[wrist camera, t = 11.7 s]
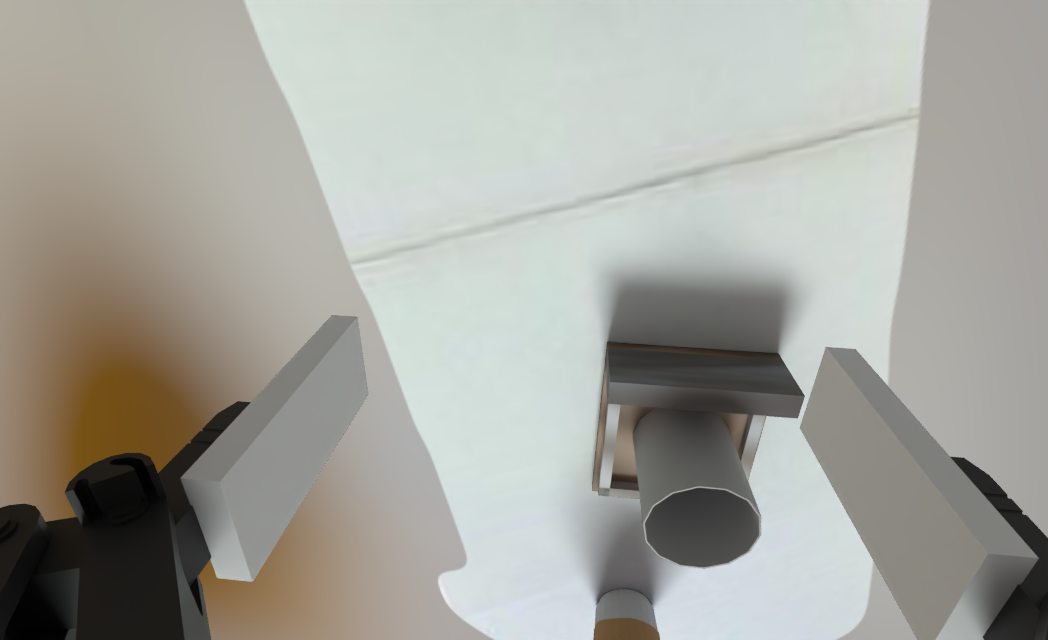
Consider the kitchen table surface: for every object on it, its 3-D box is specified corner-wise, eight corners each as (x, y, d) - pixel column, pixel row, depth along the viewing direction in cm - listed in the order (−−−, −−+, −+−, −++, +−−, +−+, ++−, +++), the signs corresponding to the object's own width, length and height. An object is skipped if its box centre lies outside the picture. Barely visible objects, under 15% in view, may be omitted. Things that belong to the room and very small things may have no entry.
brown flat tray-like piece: (607, 342, 45) (610, 381, 40) (778, 353, 44) (804, 396, 39) (592, 483, 53) (593, 532, 47) (738, 496, 51) (756, 548, 46)
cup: (738, 406, 46) (775, 493, 37) (719, 478, 49) (748, 573, 41) (638, 397, 46) (650, 481, 37) (627, 469, 50) (635, 561, 41)
